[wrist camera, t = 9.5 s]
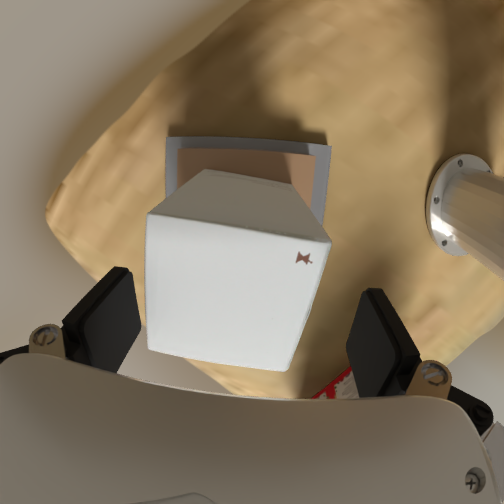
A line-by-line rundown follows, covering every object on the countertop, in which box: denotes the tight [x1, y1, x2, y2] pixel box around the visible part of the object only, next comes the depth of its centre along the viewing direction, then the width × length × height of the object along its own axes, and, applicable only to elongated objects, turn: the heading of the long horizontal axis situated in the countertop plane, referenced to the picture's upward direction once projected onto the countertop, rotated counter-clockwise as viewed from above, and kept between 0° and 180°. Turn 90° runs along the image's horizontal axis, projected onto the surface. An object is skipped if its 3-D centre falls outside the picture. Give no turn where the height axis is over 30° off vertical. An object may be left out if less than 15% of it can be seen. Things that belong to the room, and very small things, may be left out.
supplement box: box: [145, 169, 332, 372], centre depth 17 cm, size 7×7×13 cm
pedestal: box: [166, 136, 332, 226], centre depth 25 cm, size 15×13×4 cm
